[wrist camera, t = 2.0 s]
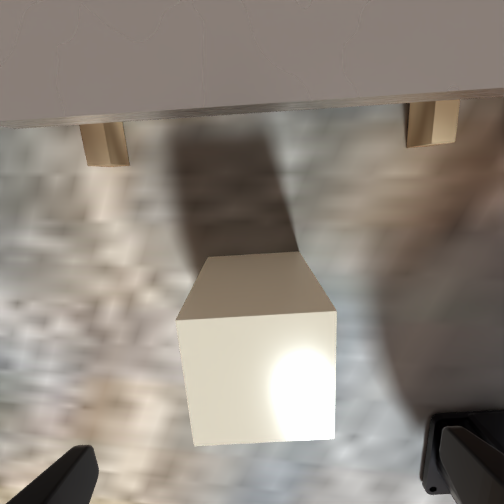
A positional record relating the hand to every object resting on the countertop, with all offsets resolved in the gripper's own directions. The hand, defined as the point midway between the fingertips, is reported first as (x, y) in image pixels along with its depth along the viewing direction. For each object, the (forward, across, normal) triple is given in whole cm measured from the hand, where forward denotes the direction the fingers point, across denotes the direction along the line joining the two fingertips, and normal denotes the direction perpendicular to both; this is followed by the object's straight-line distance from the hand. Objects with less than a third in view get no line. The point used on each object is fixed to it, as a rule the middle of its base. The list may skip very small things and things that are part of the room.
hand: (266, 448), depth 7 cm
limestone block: (+9, 0, 0) cm, 9 cm away
